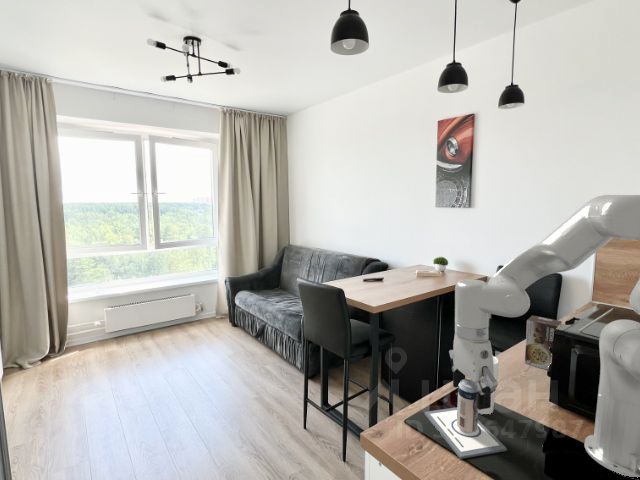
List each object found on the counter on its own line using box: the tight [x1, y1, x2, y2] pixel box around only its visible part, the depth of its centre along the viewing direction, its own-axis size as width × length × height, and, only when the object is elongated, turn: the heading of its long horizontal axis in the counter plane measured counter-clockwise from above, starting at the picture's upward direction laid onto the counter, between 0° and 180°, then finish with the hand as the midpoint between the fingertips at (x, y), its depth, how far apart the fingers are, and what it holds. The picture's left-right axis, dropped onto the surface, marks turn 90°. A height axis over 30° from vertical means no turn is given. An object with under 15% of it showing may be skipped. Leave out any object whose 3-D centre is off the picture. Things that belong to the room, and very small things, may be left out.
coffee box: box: [524, 314, 562, 371], centre depth 119 cm, size 9×6×16 cm
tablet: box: [423, 407, 508, 460], centre depth 87 cm, size 16×12×1 cm
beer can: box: [457, 378, 479, 433], centre depth 86 cm, size 5×5×12 cm
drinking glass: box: [478, 355, 500, 415], centre depth 94 cm, size 7×7×15 cm
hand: (470, 396), depth 85 cm, fingers open, 9 cm apart
